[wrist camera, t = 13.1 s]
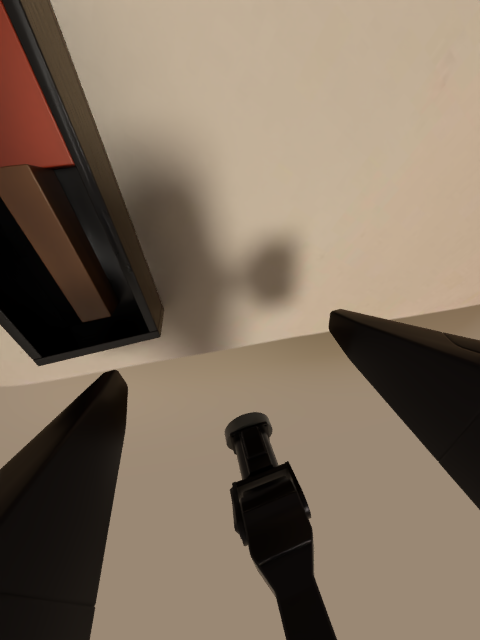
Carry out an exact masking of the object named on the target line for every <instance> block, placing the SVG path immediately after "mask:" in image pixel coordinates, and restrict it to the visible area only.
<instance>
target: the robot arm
mask: <svg viewBox="0 0 480 640" xmlns="http://www.w3.org/2000/svg"><path fill="white" fill-rule="evenodd" d="M329 331H330V332H331V334H332V335H333V337H334V338H335V340H336V341H337V343H338V344H339V345H340V347H341V348H342V350H343V351H344V352H345V354H346V355H347V357H348V358H349V359H350V360H351V362H352V363H353V364H354V365H355V366H356V367H357V369H358V370H359V371H360V372H361V373H362V374H363V376H364V377H365V378H366V379H367V380H368V381H369V382H370V384H371V385H372V386H373V387H374V388H375V389H376V390H377V392H378V393H379V394H380V395H381V396H382V397H383V399H384V400H385V401H386V402H387V403H388V404H389V406H390V407H391V408H392V409H393V410H394V411H395V412H396V413H397V415H398V416H399V417H400V418H401V419H402V420H403V422H404V423H405V424H406V425H407V426H408V427H409V429H410V430H411V431H412V432H413V433H414V434H415V435H416V437H417V438H418V439H419V440H420V441H421V442H422V444H423V445H424V446H425V447H426V448H427V449H428V450H429V452H430V453H431V454H432V455H433V456H434V457H435V458H436V460H437V461H439V463H440V464H441V466H442V467H443V468H444V469H445V470H446V471H447V473H448V474H449V475H450V476H451V477H452V478H453V480H454V481H455V482H456V483H457V484H458V485H459V486H460V488H461V489H462V490H463V491H464V492H465V493H466V495H468V497H469V498H470V499H471V500H472V501H473V503H474V504H475V505H476V506H477V507H478V508H479V510H480V340H475V339H471V338H466V337H462V336H457V335H452V334H448V333H442V332H439V331H435V330H431V329H426V328H422V327H417V326H413V325H408V324H404V323H400V322H395V321H391V320H387V319H382V318H378V317H374V316H369V315H365V314H361V313H356V312H352V311H347V310H343V309H338V310H334V311H332V312H331V313H330V319H329ZM127 397H128V387H127V384H126V382H125V381H124V379H123V378H122V376H121V375H120V373H119V372H118V371H117V370H112V371H108V372H105V373H103V374H102V375H101V376H100V377H99V378H98V379H97V380H96V381H95V382H94V383H93V384H91V386H89V387H88V388H87V389H86V390H85V391H84V392H83V393H82V394H81V395H80V396H78V397H77V398H76V399H75V400H74V401H73V402H72V403H71V404H70V405H69V406H68V407H67V408H66V409H65V410H64V411H63V412H61V413H60V414H59V415H58V416H57V417H56V418H55V419H54V420H53V421H52V422H51V423H50V424H49V425H47V426H46V427H45V428H44V429H43V430H42V431H41V432H40V433H39V434H38V435H37V436H36V437H35V438H34V439H33V440H31V441H30V442H29V443H28V444H27V445H26V446H25V447H24V448H23V449H22V450H21V451H20V452H18V453H17V454H16V455H15V456H14V457H13V458H12V459H11V460H10V461H9V462H8V463H7V464H6V465H5V466H3V467H2V468H1V469H0V640H90V634H91V629H92V623H93V617H94V611H95V607H94V606H95V603H96V598H97V592H98V586H99V581H100V575H101V569H102V563H103V557H104V552H105V545H106V540H107V534H108V528H109V522H110V517H111V511H112V505H113V499H114V493H115V487H116V482H117V476H118V470H119V464H120V458H121V453H122V447H123V441H124V435H125V429H126V415H127ZM229 436H230V440H231V443H232V447H233V451H234V453H235V454H237V458H238V462H239V467H240V471H241V476H242V480H241V481H238V482H234V483H232V485H233V487H232V488H231V489H230V493H231V498H232V504H233V517H234V528H235V531H236V532H237V533H238V534H240V537H241V539H242V541H243V544H244V546H247V545H248V546H249V551H250V555H251V558H252V560H253V562H254V564H255V566H256V568H257V570H258V572H259V573H260V575H261V576H262V577H263V579H264V581H265V582H266V584H267V585H268V587H269V588H270V589H271V591H272V592H273V594H274V595H275V597H276V599H277V603H278V607H279V611H280V615H281V619H282V624H283V628H284V632H285V636H286V640H337V639H336V636H335V633H334V630H333V627H332V625H331V622H330V619H329V617H328V614H327V611H326V608H325V605H324V603H323V600H322V597H321V594H320V592H319V589H318V586H317V584H316V581H315V578H314V545H313V533H312V527H311V525H310V522H309V518H311V514H310V510H309V507H308V504H307V501H306V499H305V496H304V494H303V491H302V489H301V487H300V485H299V483H298V481H297V479H296V477H295V474H294V472H293V470H292V468H291V466H290V464H289V462H288V461H287V462H285V464H282V465H278V463H277V460H276V457H275V455H274V452H273V449H272V447H271V444H270V441H269V427H268V423H267V421H264V422H261V423H258V424H255V425H252V426H249V427H246V428H243V429H240V430H237V431H234V432H231V433H230V434H229Z"/></svg>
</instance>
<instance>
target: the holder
mask: <svg viewBox="0 0 480 640" xmlns="http://www.w3.org/2000/svg"><path fill="white" fill-rule="evenodd" d="M1 1H2V3H3V5H4V7H5V10H6V12H7V14H8V16H9V19H10V21H11V23H12V25H13V27H14V30H15V32H16V34H17V36H18V39H19V41H20V43H21V45H22V48H23V50H24V52H25V54H26V57H27V59H28V61H29V63H30V65H31V68H32V70H33V72H34V74H35V77H36V79H37V81H38V83H39V86H40V88H41V90H42V92H43V95H44V97H45V99H46V101H47V104H48V106H49V108H50V110H51V112H52V115H53V117H54V119H55V121H56V124H57V126H58V128H59V130H60V133H61V135H62V137H63V139H64V142H65V144H66V146H67V148H68V151H69V153H70V155H71V157H72V159H73V162H74V164H75V166H76V167H68V168H59V169H52V170H53V171H54V173H55V175H56V177H57V179H58V181H59V183H60V185H61V187H62V189H63V191H64V193H65V195H66V197H67V199H68V201H69V203H70V205H71V207H72V209H73V211H74V213H75V215H76V217H77V219H78V221H79V223H80V225H81V227H82V228H83V230H84V232H85V234H86V236H87V238H88V240H89V242H90V244H91V246H92V248H93V250H94V252H95V254H96V256H97V258H98V260H99V262H100V264H101V266H102V268H103V270H104V272H105V274H106V276H107V278H108V280H109V282H110V284H111V286H112V288H113V290H114V292H115V294H116V296H117V298H118V300H119V304H118V305H117V307H116V309H115V311H114V312H113V314H112V316H110V317H106V318H101V319H97V320H92V321H88V322H82V321H81V319H80V318H79V316H78V315H77V313H76V312H75V310H74V309H73V307H72V306H71V304H70V303H69V301H68V300H67V298H66V297H65V295H64V293H63V292H62V290H61V289H60V287H59V286H58V284H57V283H56V281H55V280H54V278H53V277H52V275H51V274H50V272H49V271H48V269H47V267H46V266H45V264H44V263H43V261H42V260H41V258H40V257H39V255H38V254H37V252H36V251H35V249H34V248H33V246H32V245H31V243H30V241H29V240H28V238H27V237H26V235H25V234H24V232H23V231H22V229H21V228H20V226H19V225H18V223H17V222H16V220H15V218H14V217H13V215H12V214H11V212H10V211H9V209H8V208H7V206H6V205H5V203H4V202H3V200H2V199H1V197H0V325H1V326H2V327H3V328H4V329H5V330H6V331H7V332H8V333H9V335H10V336H11V337H12V338H13V339H14V340H15V341H16V342H17V343H18V344H19V345H20V346H21V348H22V349H23V350H24V351H25V352H26V353H27V354H28V355H29V356H30V357H31V358H32V359H33V361H34V362H35V363H36V364H37V365H38V366H42V365H46V364H50V363H54V362H58V361H62V360H67V359H71V358H75V357H79V356H83V355H87V354H92V353H96V352H100V351H104V350H108V349H112V348H117V347H121V346H125V345H129V344H133V343H137V342H142V341H146V340H150V339H154V338H158V337H161V329H162V321H163V314H164V308H163V305H162V302H161V300H160V297H159V294H158V292H157V289H156V286H155V284H154V281H153V278H152V275H151V273H150V270H149V267H148V265H147V262H146V259H145V257H144V254H143V251H142V248H141V246H140V243H139V240H138V238H137V235H136V232H135V230H134V227H133V224H132V221H131V219H130V216H129V213H128V211H127V208H126V205H125V203H124V200H123V197H122V195H121V192H120V189H119V186H118V184H117V181H116V178H115V176H114V173H113V170H112V168H111V165H110V162H109V159H108V157H107V154H106V151H105V149H104V146H103V143H102V141H101V138H100V135H99V133H98V130H97V127H96V124H95V122H94V119H93V116H92V114H91V111H90V108H89V106H88V103H87V100H86V97H85V95H84V92H83V89H82V87H81V84H80V81H79V79H78V76H77V73H76V71H75V68H74V65H73V62H72V60H71V57H70V54H69V52H68V49H67V46H66V44H65V41H64V38H63V35H62V33H61V30H60V27H59V25H58V22H57V19H56V17H55V14H54V11H53V9H52V6H51V3H50V0H1Z"/></svg>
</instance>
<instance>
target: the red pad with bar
mask: <svg viewBox="0 0 480 640" xmlns="http://www.w3.org/2000/svg"><path fill="white" fill-rule="evenodd" d="M68 167H76V166H75V164H74V162H73V159H72V157H71V155H70V153H69V151H68V148H67V146H66V144H65V142H64V139H63V137H62V135H61V133H60V130H59V128H58V126H57V124H56V121H55V119H54V117H53V115H52V112H51V110H50V108H49V106H48V104H47V101H46V99H45V97H44V95H43V92H42V90H41V88H40V86H39V83H38V81H37V79H36V77H35V74H34V72H33V70H32V68H31V65H30V63H29V61H28V59H27V57H26V54H25V52H24V50H23V48H22V45H21V43H20V41H19V39H18V36H17V34H16V32H15V30H14V27H13V25H12V23H11V21H10V19H9V16H8V14H7V12H6V10H5V7H4V5H3V3H2V1H1V0H0V197H1V199H2V200H3V202H4V203H5V205H6V206H7V208H8V209H9V211H10V212H11V214H12V215H13V217H14V218H15V220H16V222H17V223H18V225H19V226H20V228H21V229H22V231H23V232H24V234H25V235H26V237H27V238H28V240H29V241H30V243H31V245H32V246H33V248H34V249H35V251H36V252H37V254H38V255H39V257H40V258H41V260H42V261H43V263H44V264H45V266H46V267H47V269H48V271H49V272H50V274H51V275H52V277H53V278H54V280H55V281H56V283H57V284H58V286H59V287H60V289H61V290H62V292H63V293H64V295H65V297H66V298H67V300H68V301H69V303H70V304H71V306H72V307H73V309H74V310H75V312H76V313H77V315H78V316H79V318H80V319H81V321H82V322H88V321H92V320H97V319H101V318H106V317H110V316H112V314H113V312H114V311H115V309H116V307H117V305H118V304H119V300H118V298H117V296H116V294H115V292H114V290H113V288H112V286H111V284H110V282H109V280H108V278H107V276H106V274H105V272H104V270H103V268H102V266H101V264H100V262H99V260H98V258H97V256H96V254H95V252H94V250H93V248H92V246H91V244H90V242H89V240H88V238H87V236H86V234H85V232H84V230H83V228H82V227H81V225H80V223H79V221H78V219H77V217H76V215H75V213H74V211H73V209H72V207H71V205H70V203H69V201H68V199H67V197H66V195H65V193H64V191H63V189H62V187H61V185H60V183H59V181H58V179H57V177H56V175H55V173H54V171H53V170H52V169H59V168H68Z"/></svg>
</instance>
